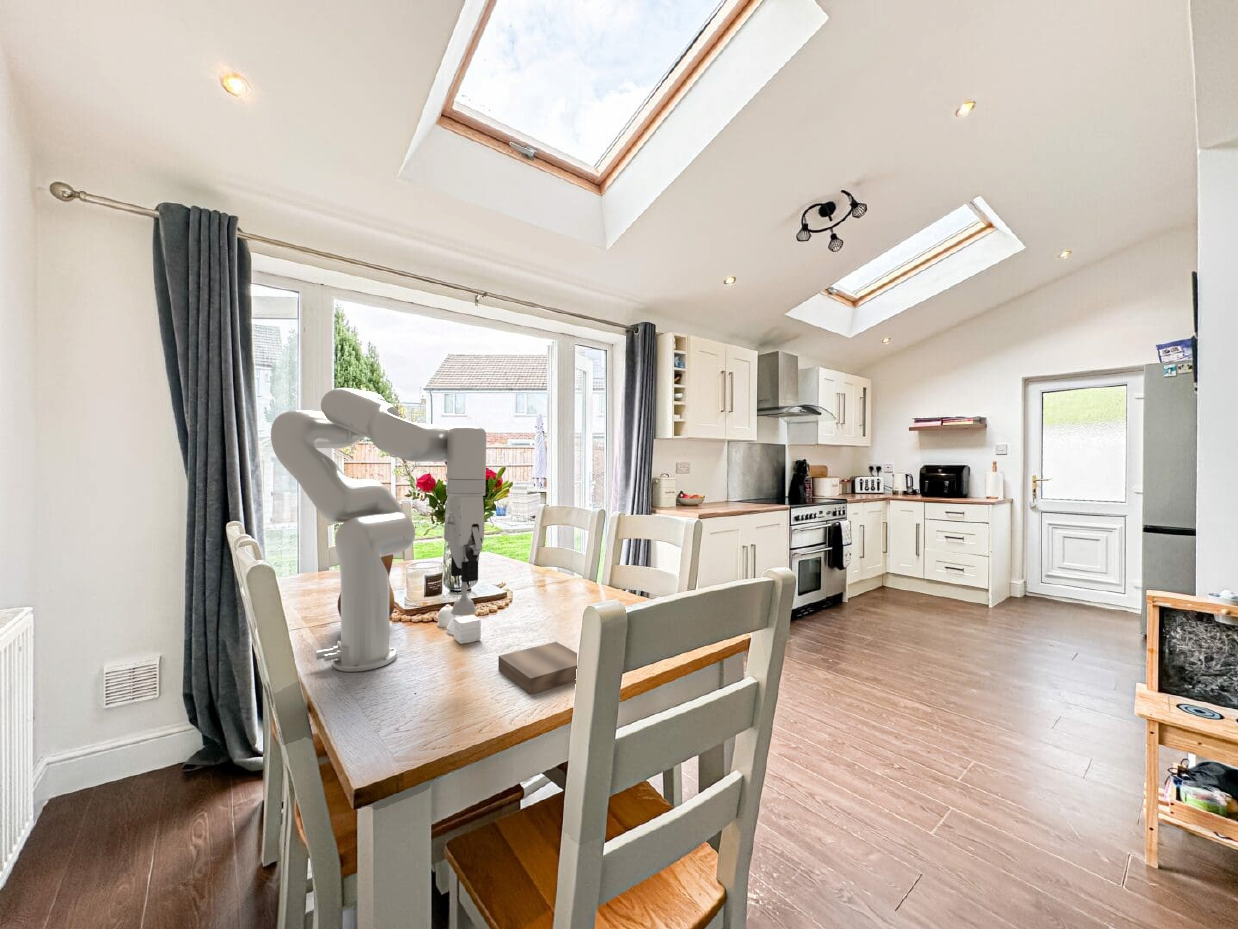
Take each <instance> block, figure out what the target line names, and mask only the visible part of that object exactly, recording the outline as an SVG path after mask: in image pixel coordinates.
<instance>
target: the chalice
mask: <svg viewBox="0 0 1238 929" xmlns="http://www.w3.org/2000/svg"><path fill="white" fill-rule="evenodd" d="M447 524H448V526H449V543H448V548H449V552H450V555H451V554H452V556H451V557H453V559H454V561H455V563H456V565H457V567H458V568H462V562H463V561H464V559H463V547H457V546H456V545H454V531H455V530H454V528H455V526H456V525H452V524H449V523H448V522H447ZM467 545H473V542H468V543H467ZM470 549H472V548H469V549H468V553H469V551H470ZM460 580H461V577H460ZM467 583H468V582H462V581H461V585H460V586H459V590H460V591H461V595H460V597H459V599H458V598H457V599H456V600H455V601H454V603H453V606H452V607H453V609H452V610H451V614H453V615H461V616H469V615H470V616H471V615H474V614H475V613H476V612H477V608H476V607H475V606H476V605H475V604H474V601H473V599H471V598H469V597H468V595H467V591H468V589H469V586H468V584H467Z"/></svg>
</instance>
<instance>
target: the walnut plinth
mask: <svg viewBox="0 0 1238 929" xmlns="http://www.w3.org/2000/svg"><path fill="white" fill-rule="evenodd" d="M497 659H498V660H497V661H498V664H497V665H498V671H499V672H500V673H501V674H502V675H505V677H507V678H508V679H509V680H511V681H513V682H514V683H515V684H516V685H517V686H519V687H520V688H522V689H523V690H524V691H525V692H526V693H527V694H529V695H533V694H536V693H540V692H543V691H547V690H550V689H553V688H556V687H557V686H562V685H565V684H568V683H571V682H575V681H576V680H575V679H576V669H577V652H576V651H574V650H572V649H571V648H569V647H567V646H565V645H563V644H561V643H559V642H558V641H553V642H549V643H546V644H541V645H537V646H533V647H528V648H525V649H520V650H516V651H512V652H509V653H504V654H500V655H498V658H497Z"/></svg>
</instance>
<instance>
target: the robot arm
mask: <svg viewBox="0 0 1238 929" xmlns="http://www.w3.org/2000/svg"><path fill="white" fill-rule="evenodd" d="M320 410H321V411H316V410H315V411H314V410H304V409H299V410H298V409H297V410H290V411H286V412H283V413H280V414H279V415H278V416H277V417H276V418H275V419H274V421H273V422H272V425H271V427H270V440H271V442H270V443H271V447H272V450H273V451H274V454H275V456H276V458H277V460H278V461H279V462H280V463H281V465H282V466H283V467H284V468H285V469H286V471H288V473H290V475H291V476H292V477H293V478H294V479H295V480H296V481H297V484H299V486H300V487H301V488H302V491H304V493H305V494H306V496H307V497H308V498H309V500H310V501H311V502H312V504H313V505H314V506H315V508H316V510H317V511H318V512H319V513H320V514H321V516H322V517H323V518H324V519H325V520H326V521H328V522H329V523H336V524H338V523H341V524H340V526H339V527H338V529H337V531H336V533H335V538H334V542H335V544H334V546H335V549H336V554H337V558H338V564H339V572H340V573H339V574H340V575H339V576H340V577H339V578H340V592H341V617H340V640H338V641H336V645H332V648H324V649H323V648H322V649H318V650H315V656H314V657H315V661H320V660H323V661H324V662H328V661H332V667H333V668H334V669H335V670H338V671H341V672H346V673H347V672H364V671H370V670H374V669H377V668H382V667H384V666H387V665H389V664H391V663H393V662H394V660H396V658H397V656H398V650H397V649H396V648H394V647H393V646H390V617H389V581H390V575H389V576H388V572H387V570H386V568H385V566H384V564H383V562H382V560H381V557H383V556H387V555H391V554H393V555H395V554H399V553H401V552H404V551H407V549H409V548H410V547H411V546H412V545H413V544H414V541H415V539H416V529H415V526H414V523H413V521H412V519H411V518H410V516H409V515H408V514H407V512H406V511H405V509H404V507H403V506H401V504H400V503H399V501H398V500H397V498H395V496H394V495H393V494H392V492H391V491H390V490H389V489H388V488H387V487H386V485H384V484H383V483H382V482H380V481H378V480H375V479H371V478H366V479H365V478H361V479H360V478H359V479H353V478H350V477H348V476H347V475H346V474H344V472H343V471H342V470H341V469H340V467H339V465H338V464H337V463H336V461H334V460H333V459H331V458H330V457H329V456H327V455H326V454H324V453H323V452H322V451H320V450H318V449H344V448H347V447H350V446H352V445H354V444H355V443H356V442H359V441H361V440H362V439H364V438H368V439H369V440H370V441H371V442H372V443H373V445H374V446H375V447H376V448H377V449H378V450H380V451H382V452H384V453H387V454H389V455H391V456H394V457H396V458H399V459H401V460H404V461H409V462H412V463H413V462H414V463H416V462H417V463H421V462H423V463H425V462H432V463H435V462H438V463H444V462H445V463H446V485H445V486H446V487H445V488H446V493H445V494H446V496H447V499H446V505H445V515H444V526H443V527H444V528H443V529H444V530H443V539H444V541H445V542H446V543H448V544H449V526H448V524H447V522H448V523H449V524H452V525H456V526H455V528H454V530H455V531H454V545H456V546H457V547H463V559H464V561H463V562H462V568H458V567H457V565H456V563H455V561H454V559H453V557H452V554H451V553H450V556H451V558H450V560H451V562H450V564H451V565H450V567H451V568H450V576H452V577H460V578H461V579H460V582H461V583H462V582H467V583H469V582H477V581H478V579H479V560H480V554H481V551H482V550H483V544H484V539H485V509H484V507H485V506H484V498H483V497H484V496H486V483H487V482H486V473H487V471H486V470H487V432H486V430H485V429H484V428H482V427H480V426H479V427H478V426H470V425H469V426H468V425H464V426H462V425H456V426H447V425H438V424H428V423H417V422H412V421H409V420H407V419H403V418H401V417H400V413H399V411H398V409H397V408H396V407H395V405H393V404H391V403H389V402H387V401H386V399H385V398H384V397H383V396H382V395H380V394H378V393H376V392H373V391H368V390H367V391H366V390H361V389H355V388H348V387H347V388H346V387H338V388H334V389H331V390H329V391H328V392H326V393H325V394H324V396H323V397H322V399H321V401H320ZM468 542H473V545H467V543H468ZM469 548H472V549H470V551H469V553H468V549H469Z"/></svg>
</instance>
